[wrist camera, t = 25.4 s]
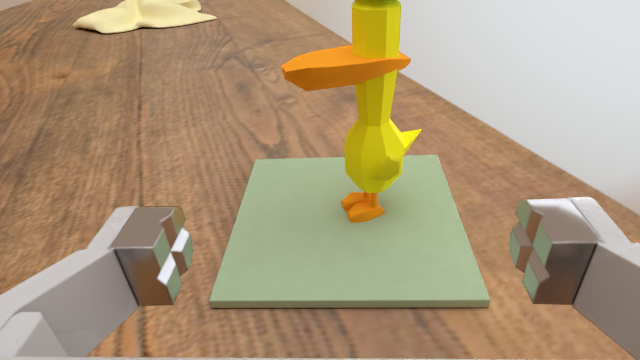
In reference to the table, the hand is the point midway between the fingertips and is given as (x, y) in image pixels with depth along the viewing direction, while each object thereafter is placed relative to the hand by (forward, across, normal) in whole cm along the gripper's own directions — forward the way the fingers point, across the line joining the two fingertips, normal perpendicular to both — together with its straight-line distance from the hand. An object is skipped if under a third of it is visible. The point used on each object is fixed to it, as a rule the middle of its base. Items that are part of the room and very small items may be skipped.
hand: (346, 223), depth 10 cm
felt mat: (+10, 0, +8) cm, 13 cm away
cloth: (+63, +31, +8) cm, 71 cm away
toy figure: (+10, -1, +8) cm, 13 cm away
